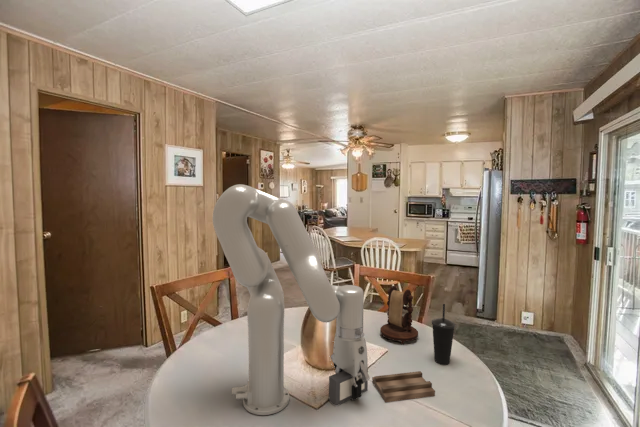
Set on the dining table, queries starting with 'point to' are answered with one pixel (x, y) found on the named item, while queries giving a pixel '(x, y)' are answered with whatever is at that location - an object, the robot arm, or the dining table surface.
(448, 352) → the drinking cup
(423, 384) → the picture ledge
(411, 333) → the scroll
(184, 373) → the dining table surface
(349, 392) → the picture frame
